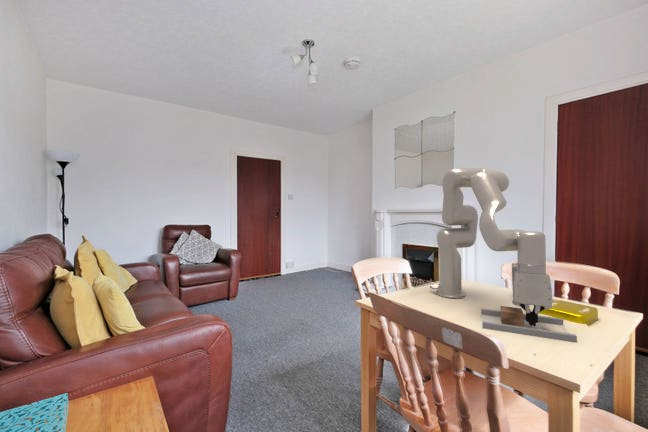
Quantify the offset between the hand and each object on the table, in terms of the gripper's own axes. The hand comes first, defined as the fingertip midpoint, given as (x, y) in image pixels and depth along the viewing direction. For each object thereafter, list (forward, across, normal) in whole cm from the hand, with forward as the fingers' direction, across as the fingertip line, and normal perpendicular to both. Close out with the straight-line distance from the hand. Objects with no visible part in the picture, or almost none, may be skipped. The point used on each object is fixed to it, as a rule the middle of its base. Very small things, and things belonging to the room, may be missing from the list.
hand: (531, 324), depth 93 cm
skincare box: (+2, +4, +40) cm, 40 cm away
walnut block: (+1, -6, 0) cm, 6 cm away
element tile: (+3, +14, +20) cm, 24 cm away
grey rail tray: (+2, -2, 0) cm, 3 cm away
